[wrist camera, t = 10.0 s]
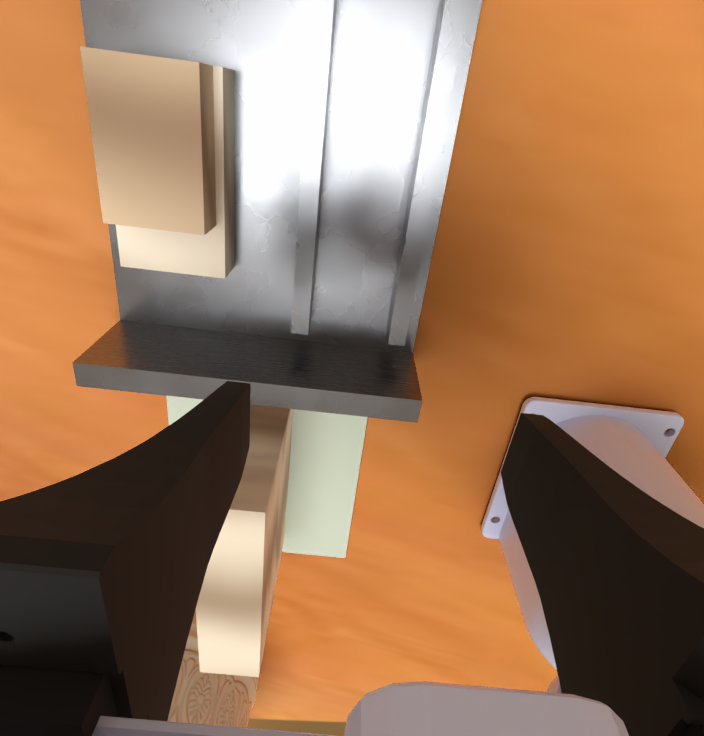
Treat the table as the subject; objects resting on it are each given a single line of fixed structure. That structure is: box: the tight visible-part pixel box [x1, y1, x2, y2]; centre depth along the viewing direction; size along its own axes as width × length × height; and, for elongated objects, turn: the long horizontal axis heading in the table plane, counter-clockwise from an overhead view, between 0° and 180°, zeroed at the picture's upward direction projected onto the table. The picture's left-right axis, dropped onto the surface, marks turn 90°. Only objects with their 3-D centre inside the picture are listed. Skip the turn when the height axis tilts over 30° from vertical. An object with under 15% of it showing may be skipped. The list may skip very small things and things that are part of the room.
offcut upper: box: [80, 46, 216, 235], centre depth 16 cm, size 5×3×2 cm
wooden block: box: [196, 405, 293, 677], centre depth 22 cm, size 10×3×8 cm, turn 173°
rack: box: [73, 0, 482, 422], centre depth 17 cm, size 16×13×5 cm
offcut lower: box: [116, 66, 234, 279], centre depth 18 cm, size 7×4×2 cm, turn 173°
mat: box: [167, 396, 368, 558], centre depth 26 cm, size 12×10×1 cm
